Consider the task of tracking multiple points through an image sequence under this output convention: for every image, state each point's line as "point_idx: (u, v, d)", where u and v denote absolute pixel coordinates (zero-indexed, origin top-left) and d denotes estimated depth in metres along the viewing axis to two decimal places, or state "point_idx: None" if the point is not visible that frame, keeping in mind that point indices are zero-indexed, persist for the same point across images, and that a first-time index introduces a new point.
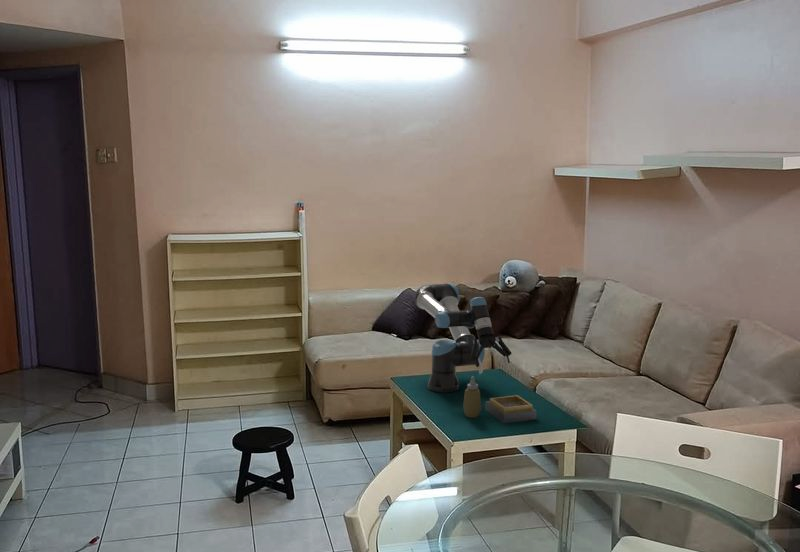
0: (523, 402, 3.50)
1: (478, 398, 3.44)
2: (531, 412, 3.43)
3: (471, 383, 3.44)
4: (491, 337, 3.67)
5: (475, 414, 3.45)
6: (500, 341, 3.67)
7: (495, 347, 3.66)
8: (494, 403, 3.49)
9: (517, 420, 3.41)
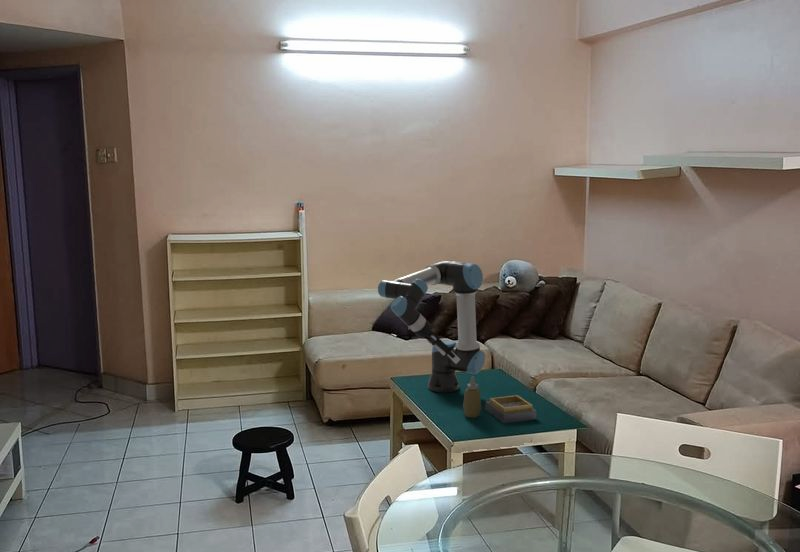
0: (523, 402, 3.50)
1: (478, 398, 3.44)
2: (531, 412, 3.43)
3: (471, 383, 3.44)
4: (427, 336, 3.32)
5: (475, 414, 3.45)
6: (434, 342, 3.29)
7: None
8: (494, 403, 3.49)
9: (517, 420, 3.41)
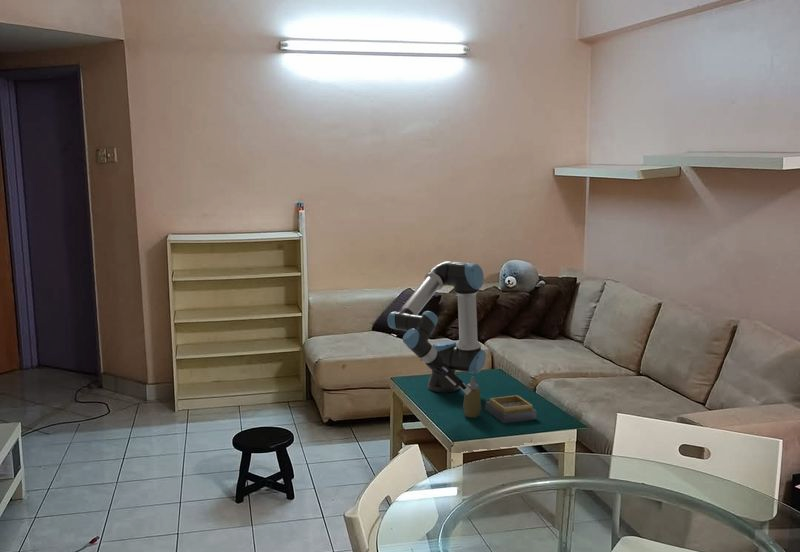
0: (523, 402, 3.50)
1: (478, 398, 3.44)
2: (531, 412, 3.43)
3: (471, 383, 3.44)
4: (438, 367, 3.35)
5: (475, 414, 3.45)
6: (445, 374, 3.33)
7: None
8: (494, 403, 3.49)
9: (517, 420, 3.41)
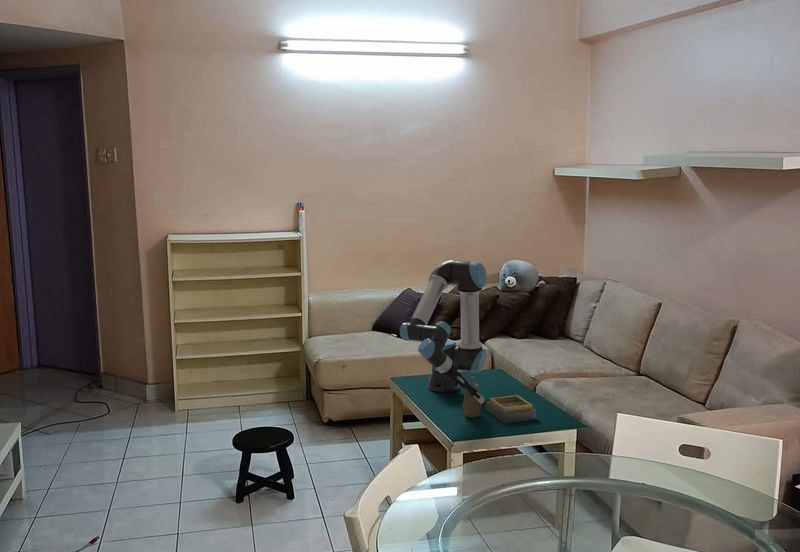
0: (523, 402, 3.50)
1: None
2: (531, 412, 3.43)
3: (471, 383, 3.44)
4: (453, 377, 3.39)
5: (475, 414, 3.45)
6: (461, 384, 3.38)
7: None
8: (494, 403, 3.49)
9: (517, 420, 3.41)
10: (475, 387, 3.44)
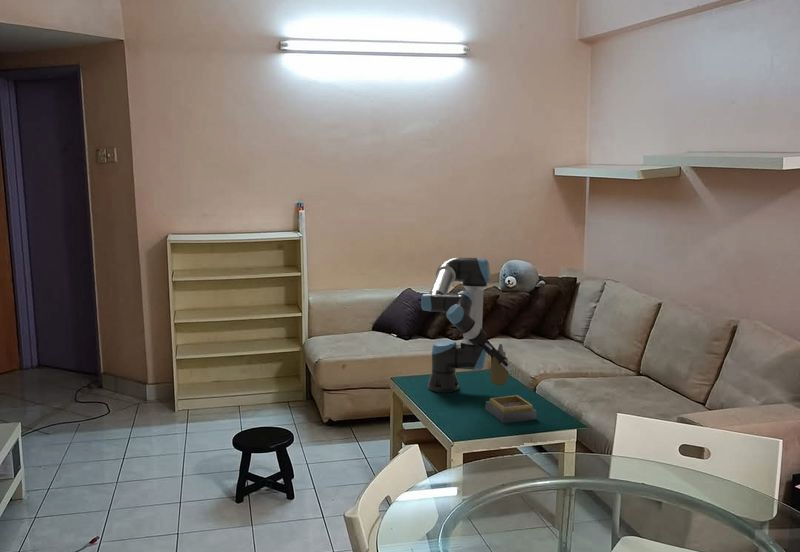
0: (523, 402, 3.50)
1: None
2: (531, 412, 3.43)
3: (499, 351, 3.42)
4: (481, 343, 3.37)
5: (502, 382, 3.42)
6: (489, 351, 3.35)
7: None
8: (494, 403, 3.49)
9: (517, 420, 3.41)
10: (503, 355, 3.41)
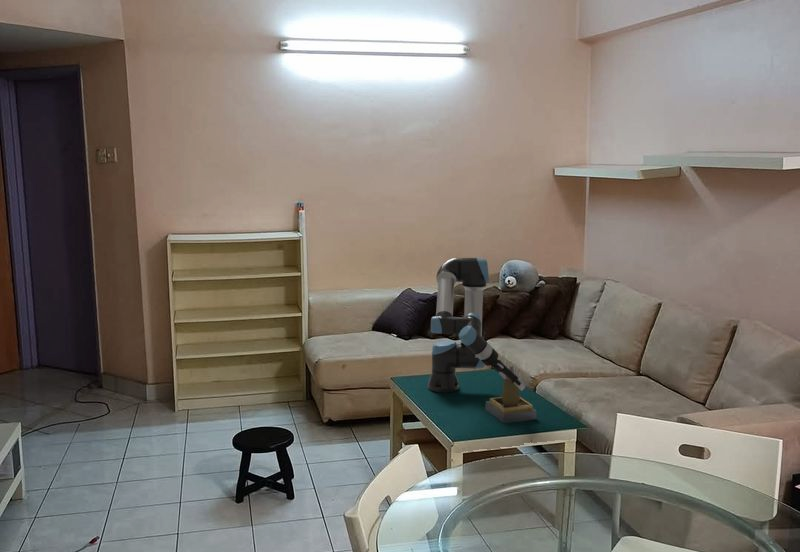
0: (523, 402, 3.50)
1: (517, 388, 3.45)
2: (531, 412, 3.43)
3: None
4: (493, 364, 3.40)
5: (514, 404, 3.46)
6: (501, 370, 3.38)
7: None
8: (494, 403, 3.49)
9: (517, 420, 3.41)
10: None
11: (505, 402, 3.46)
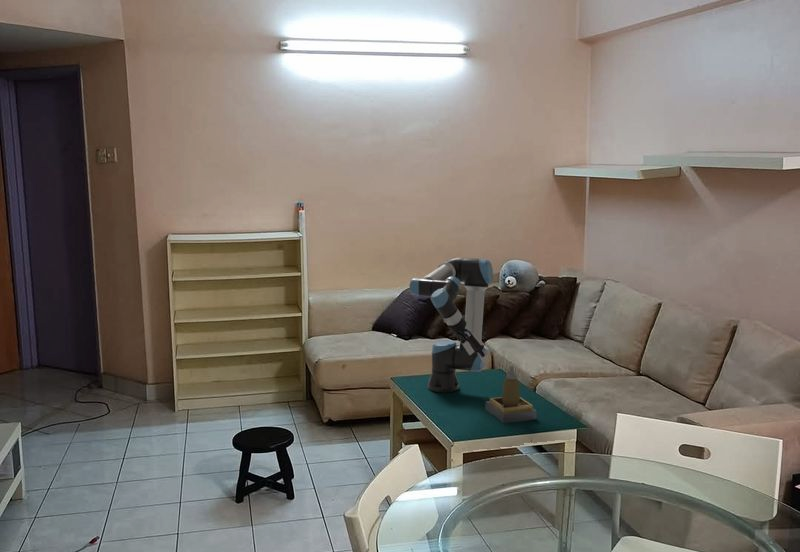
0: (523, 402, 3.50)
1: (517, 388, 3.45)
2: (531, 412, 3.43)
3: (510, 373, 3.46)
4: (460, 332, 3.37)
5: (514, 404, 3.46)
6: (467, 338, 3.35)
7: None
8: (494, 403, 3.49)
9: (517, 420, 3.41)
10: (514, 377, 3.45)
11: (505, 402, 3.46)
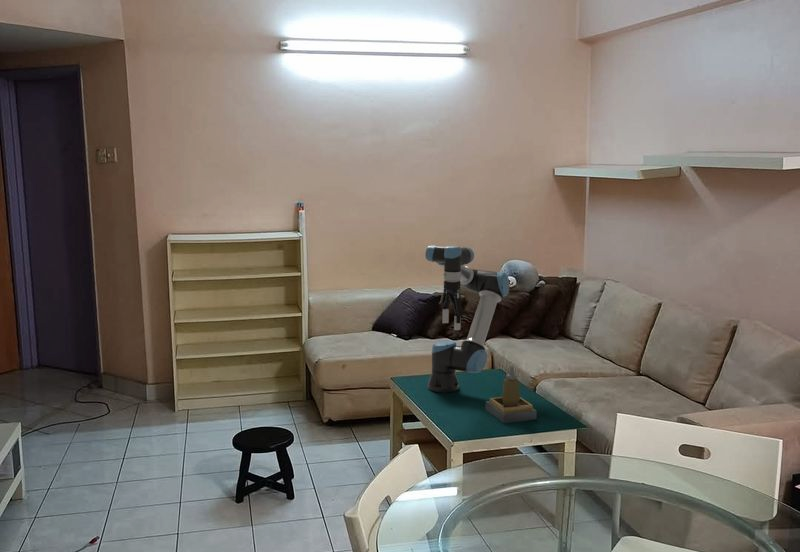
0: (523, 402, 3.50)
1: (517, 388, 3.45)
2: (531, 412, 3.43)
3: (510, 373, 3.46)
4: (451, 292, 3.52)
5: (514, 404, 3.46)
6: (454, 299, 3.49)
7: None
8: (494, 403, 3.49)
9: (517, 420, 3.41)
10: (514, 377, 3.45)
11: (505, 402, 3.46)
